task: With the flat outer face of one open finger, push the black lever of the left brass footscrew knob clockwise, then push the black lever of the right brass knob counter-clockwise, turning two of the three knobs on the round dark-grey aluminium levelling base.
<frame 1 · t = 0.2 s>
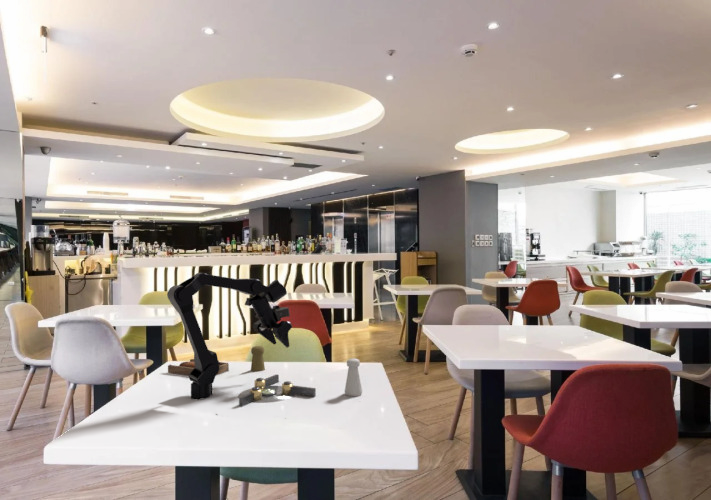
hand: (281, 345, 170), 14 cm above the table, tool tilted 30°, fingers open, 9 cm apart
cork: (257, 373, 186), on the table
levelling base: (267, 398, 153), on the table
knob left: (267, 380, 162), point 3 cm above the table, hinge at 0.0°
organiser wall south: (218, 373, 186), on the table
knob right: (298, 389, 152), point 3 cm above the table, hinge at 0.0°
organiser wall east: (208, 368, 196), on the table
sunglasses case: (201, 372, 191), on the table
salt shaker: (353, 399, 152), on the table
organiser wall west: (187, 374, 185), on the table
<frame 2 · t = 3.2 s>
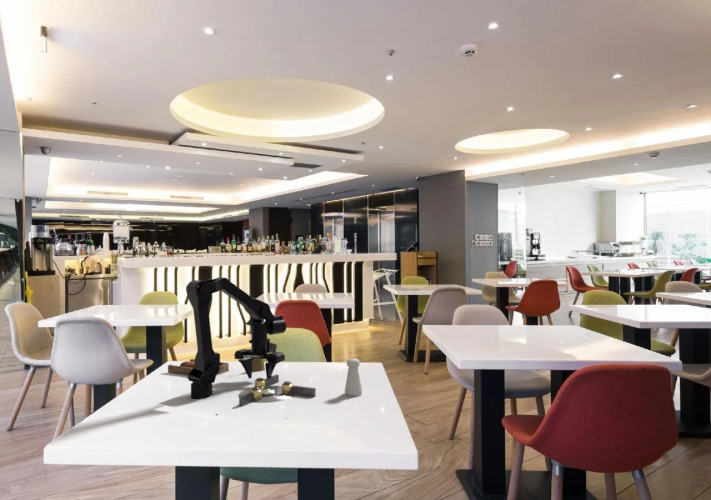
hand: (259, 379, 167), 3 cm above the table, tool pointing down, fingers open, 8 cm apart
knob left: (267, 380, 162), point 3 cm above the table, hinge at -0.1°, touching gripper
sunglasses case: (201, 372, 192), on the table, touching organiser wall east
everything else where it was.
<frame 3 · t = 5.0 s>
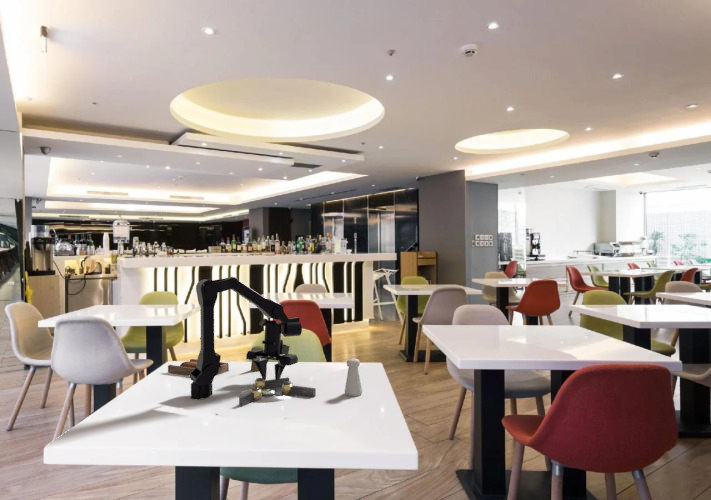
hand: (270, 381, 164), 3 cm above the table, tool pointing down, fingers open, 5 cm apart
knob left: (272, 382, 160), point 3 cm above the table, hinge at -36.6°, touching gripper
sunglasses case: (202, 372, 192), on the table
everything else where it was.
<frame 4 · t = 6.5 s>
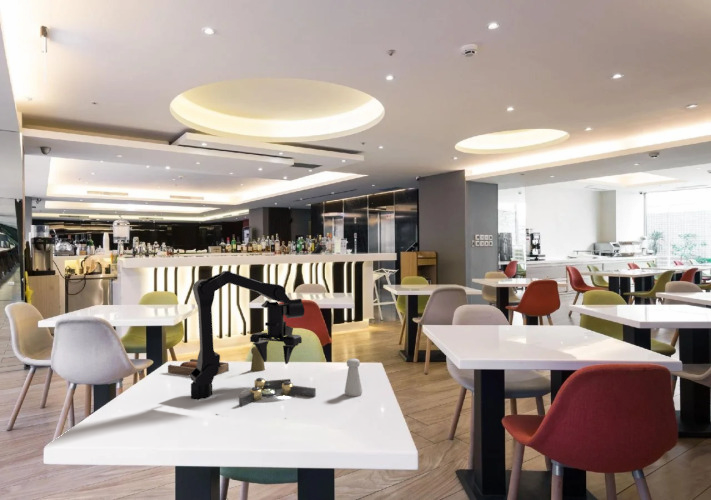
hand: (275, 362, 164), 9 cm above the table, tool pointing down, fingers open, 9 cm apart
knob left: (272, 383, 159), point 3 cm above the table, hinge at -49.9°
everything else where it was.
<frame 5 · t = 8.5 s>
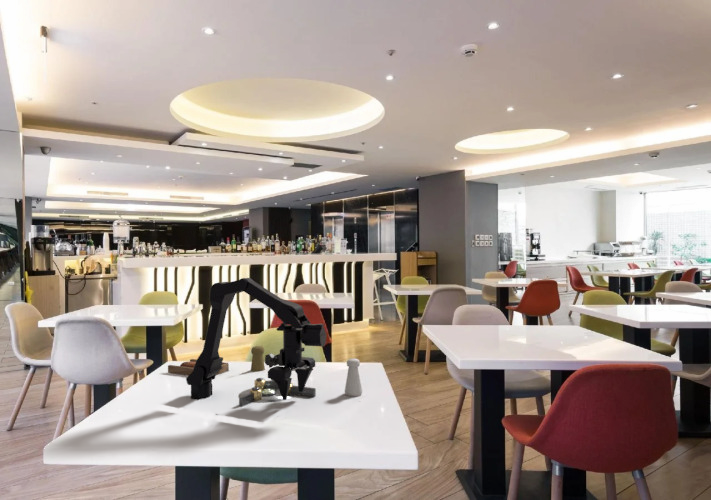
hand: (292, 395, 142), 4 cm above the table, tool pointing down, fingers open, 9 cm apart
nothing on the table moved.
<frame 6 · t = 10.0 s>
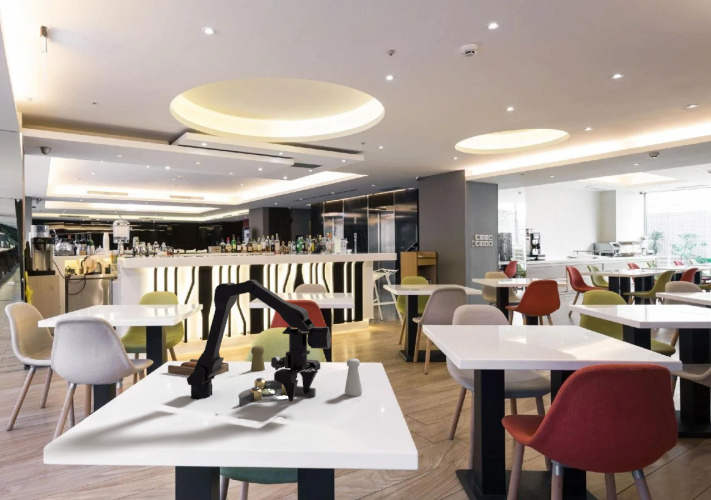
hand: (298, 397, 145), 3 cm above the table, tool pointing down, fingers open, 8 cm apart
knob right: (298, 389, 152), point 3 cm above the table, hinge at 0.1°, touching gripper
everything else where it was.
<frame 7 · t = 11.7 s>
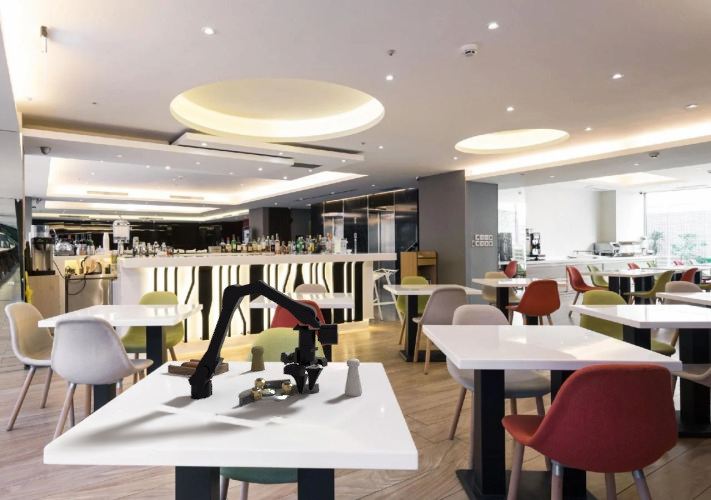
hand: (305, 392, 150), 3 cm above the table, tool pointing down, fingers open, 6 cm apart
knob right: (300, 387, 154), point 3 cm above the table, hinge at 31.7°, touching gripper
everything else where it was.
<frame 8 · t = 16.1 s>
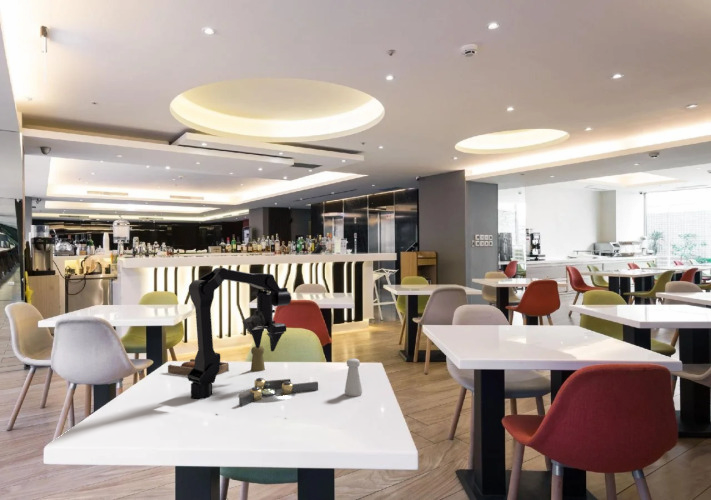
hand: (265, 349, 169), 13 cm above the table, tool pointing down, fingers open, 9 cm apart
knob right: (300, 386, 155), point 3 cm above the table, hinge at 45.5°
everything else where it was.
at the end: knob left at -50° (first picture: +0°); knob right at +46° (first picture: +0°) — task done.
